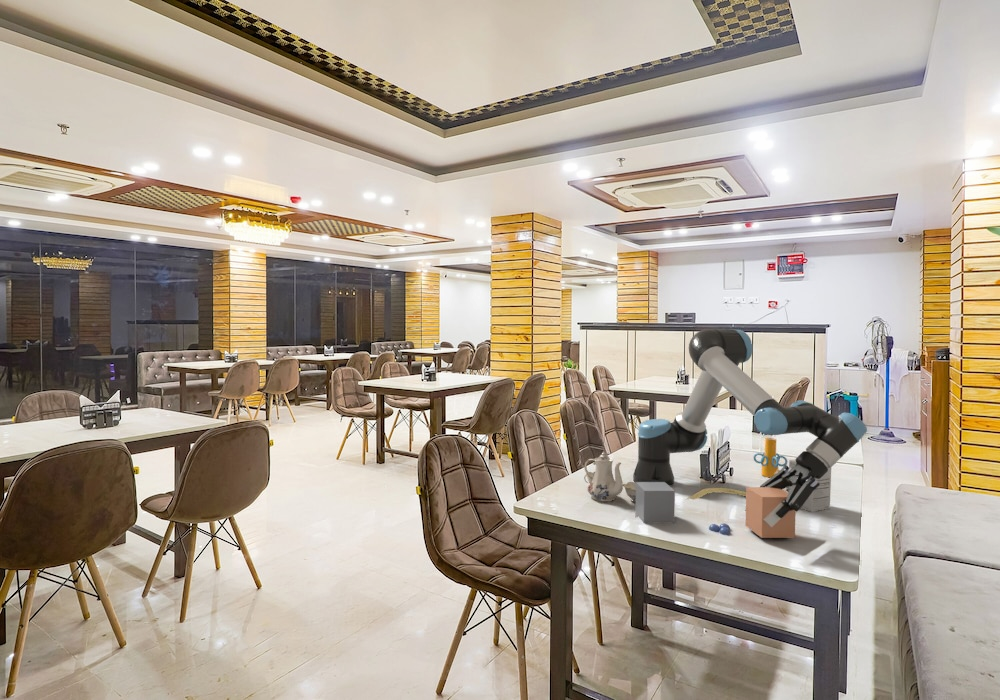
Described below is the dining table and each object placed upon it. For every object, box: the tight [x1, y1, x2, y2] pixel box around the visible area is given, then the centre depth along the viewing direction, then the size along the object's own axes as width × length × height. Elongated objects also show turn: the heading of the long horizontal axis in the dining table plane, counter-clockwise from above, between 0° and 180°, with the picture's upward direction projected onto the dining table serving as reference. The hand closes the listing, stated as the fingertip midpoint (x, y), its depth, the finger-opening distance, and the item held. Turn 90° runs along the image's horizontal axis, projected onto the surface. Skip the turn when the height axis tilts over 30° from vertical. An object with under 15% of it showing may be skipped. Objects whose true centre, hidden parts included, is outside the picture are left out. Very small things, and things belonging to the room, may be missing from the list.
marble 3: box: [718, 527, 732, 536], centre depth 149 cm, size 3×3×3 cm
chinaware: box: [583, 451, 636, 502], centre depth 186 cm, size 28×17×17 cm, turn 43°
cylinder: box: [753, 437, 788, 478], centre depth 213 cm, size 12×10×15 cm
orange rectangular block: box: [745, 486, 797, 539], centre depth 147 cm, size 9×9×11 cm
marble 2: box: [718, 523, 731, 531], centre depth 152 cm, size 3×3×3 cm
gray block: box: [634, 482, 676, 524], centre depth 161 cm, size 9×9×11 cm
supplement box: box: [787, 458, 832, 513], centre depth 176 cm, size 9×9×15 cm
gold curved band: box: [685, 487, 746, 512], centre depth 177 cm, size 19×35×2 cm, turn 139°
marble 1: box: [708, 523, 720, 533], centre depth 151 cm, size 3×3×3 cm
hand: (758, 517), depth 147 cm, fingers closed on orange rectangular block, 9 cm apart
